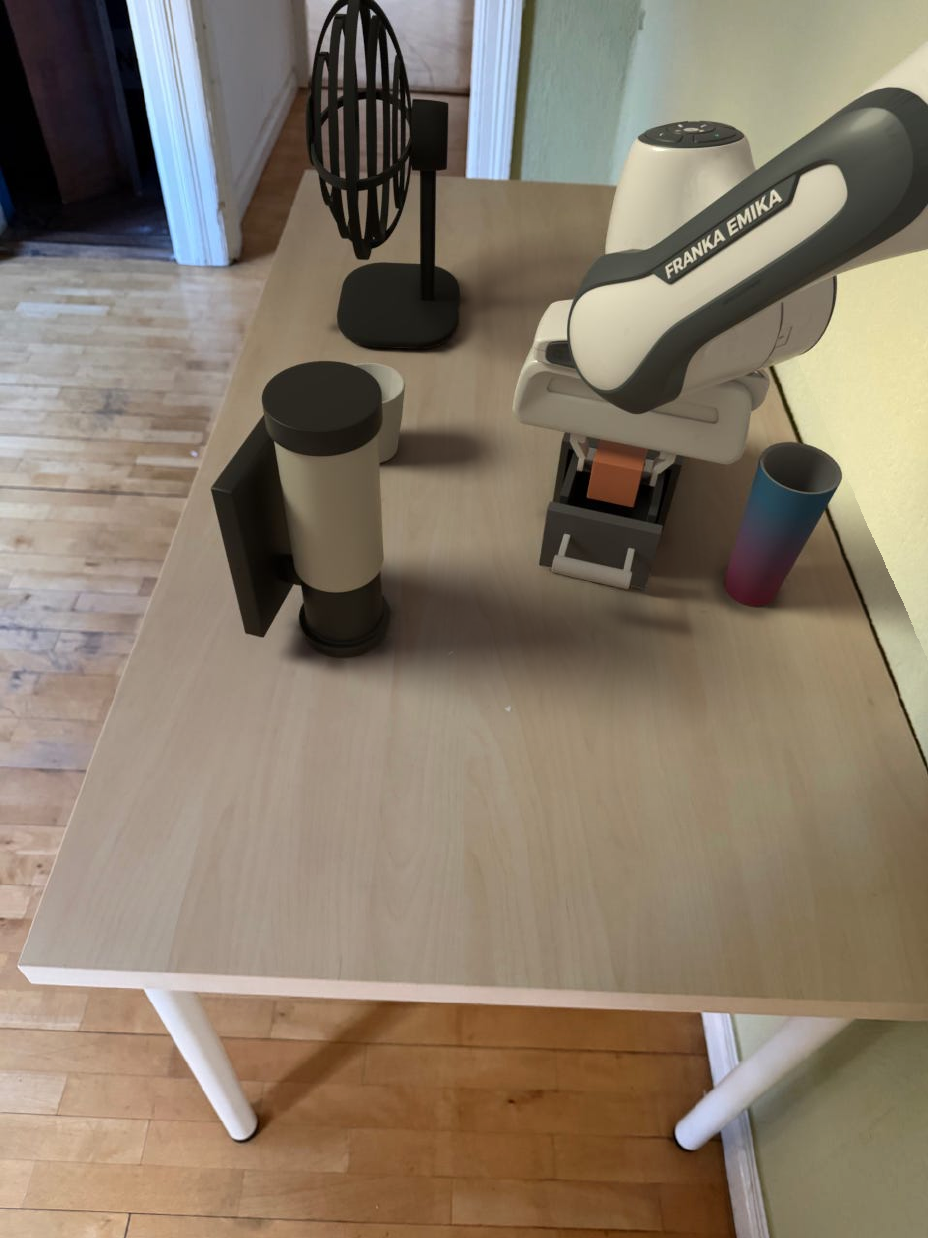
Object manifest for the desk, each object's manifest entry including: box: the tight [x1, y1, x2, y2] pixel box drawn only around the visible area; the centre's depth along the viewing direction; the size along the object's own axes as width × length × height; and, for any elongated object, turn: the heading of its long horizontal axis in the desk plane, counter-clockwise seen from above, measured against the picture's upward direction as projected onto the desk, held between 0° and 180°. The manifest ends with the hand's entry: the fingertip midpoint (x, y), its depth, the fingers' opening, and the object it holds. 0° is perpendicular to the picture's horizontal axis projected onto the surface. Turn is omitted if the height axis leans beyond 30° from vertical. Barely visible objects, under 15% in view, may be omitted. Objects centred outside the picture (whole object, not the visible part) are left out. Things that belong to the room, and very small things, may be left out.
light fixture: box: [210, 360, 391, 658], centre depth 71 cm, size 12×11×25 cm
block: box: [587, 439, 648, 507], centre depth 80 cm, size 4×4×4 cm
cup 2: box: [723, 441, 843, 608], centre depth 79 cm, size 7×7×15 cm
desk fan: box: [305, 0, 461, 350], centre depth 102 cm, size 27×18×35 cm, turn 179°
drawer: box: [538, 451, 666, 590], centre depth 84 cm, size 18×10×7 cm, turn 164°
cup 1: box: [353, 362, 406, 464], centre depth 93 cm, size 8×10×8 cm
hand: (616, 474), depth 81 cm, fingers closed on block, 4 cm apart
